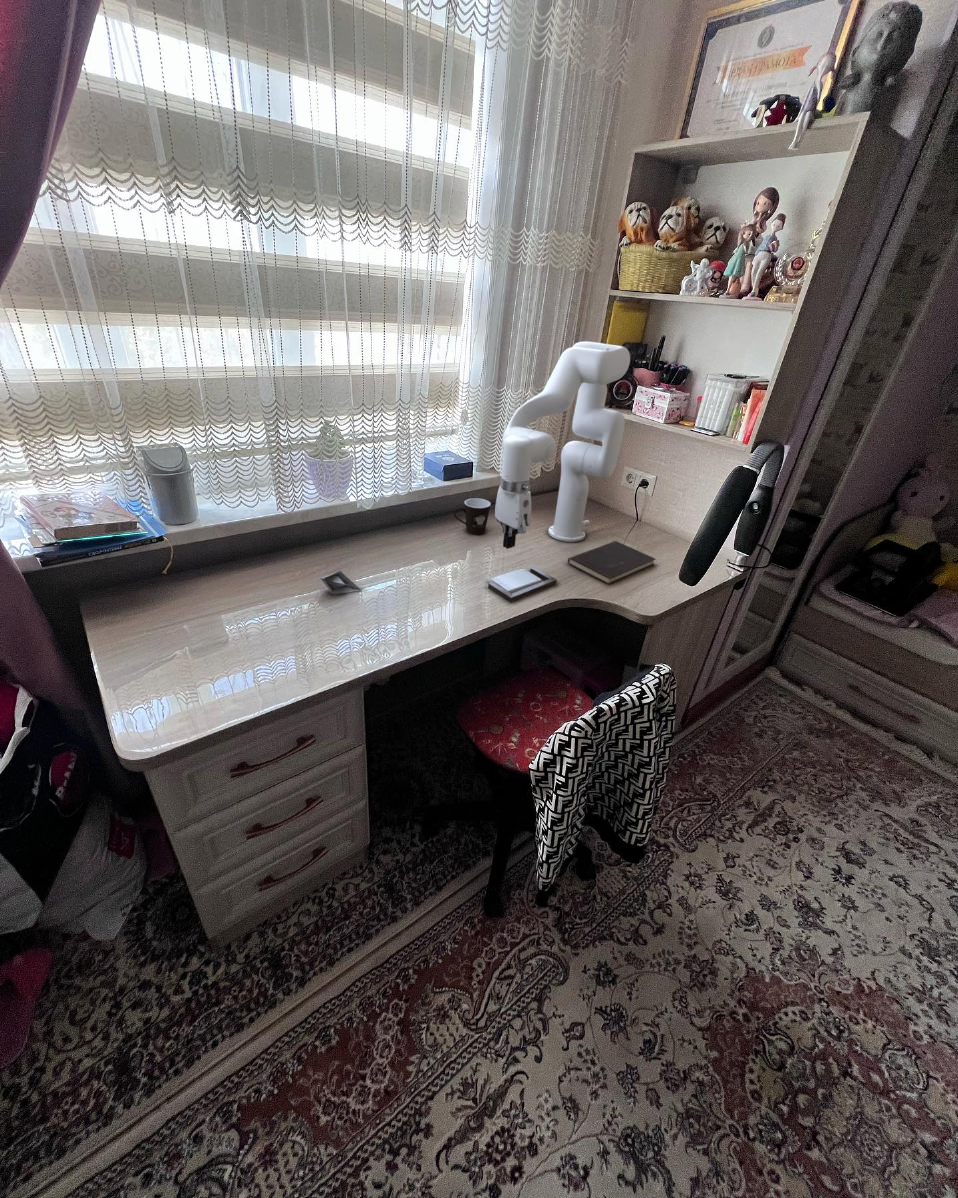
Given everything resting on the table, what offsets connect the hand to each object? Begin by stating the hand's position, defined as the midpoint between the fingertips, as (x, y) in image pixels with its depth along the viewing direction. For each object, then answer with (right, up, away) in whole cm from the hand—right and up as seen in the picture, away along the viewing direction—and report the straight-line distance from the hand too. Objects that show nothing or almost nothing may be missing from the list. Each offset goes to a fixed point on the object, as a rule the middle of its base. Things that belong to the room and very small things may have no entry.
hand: (508, 546), depth 149 cm
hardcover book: (+33, -4, +15) cm, 36 cm away
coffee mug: (-11, +8, +30) cm, 33 cm away
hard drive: (+2, -11, +1) cm, 11 cm away
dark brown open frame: (+4, -11, 0) cm, 12 cm away
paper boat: (-45, -14, -10) cm, 48 cm away
